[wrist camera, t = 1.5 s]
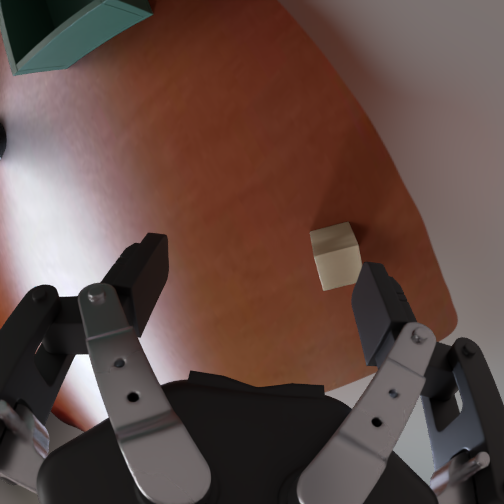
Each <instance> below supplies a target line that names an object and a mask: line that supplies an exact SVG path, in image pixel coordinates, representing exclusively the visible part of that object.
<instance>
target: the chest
mask: <svg viewBox="0 0 504 504" xmlns="http://www.w3.org/2000/svg"><path fill="white" fill-rule="evenodd" d="M151 15H153V12H152V9H151V7H150V4H149V2H148V0H0V29H1V33H2V38H3V42H4V46H5V50H6V53H7V57H8V61H9V64H10V67H11V71H12V74H13V76H16V75H22V74H29V73H35V72H43V71H51V70H61V69H67V68H68V67H70V66H71V65H72V64H74V63H75V62H77V61H78V60H79V59H81V58H82V57H84V56H85V55H86V54H88V53H89V52H91V51H92V50H94V49H95V48H97V47H98V46H100V45H101V44H103V43H104V42H106V41H108V40H109V39H111V38H112V37H114V36H116V35H117V34H119V33H121V32H122V31H124V30H126V29H127V28H129V27H131V26H133V25H135V24H136V23H138V22H140V21H142V20H144V19H146V18H148V17H149V16H151Z"/></svg>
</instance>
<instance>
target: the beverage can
mask: <svg viewBox="0 0 504 504" xmlns="http://www.w3.org/2000/svg"><path fill="white" fill-rule="evenodd" d="M5 147H6V134H5V131H4V128H3V126H2V125H1V124H0V159H1V158H2V156H3V153H4V151H5Z"/></svg>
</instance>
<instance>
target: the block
mask: <svg viewBox="0 0 504 504" xmlns="http://www.w3.org/2000/svg"><path fill="white" fill-rule="evenodd" d="M310 236H311V242H312V247H313V253H314V258H315V262H316V265H317V269H318V272H319V276H320V280H321V284H322V287H323V291H325V290H329V289H333V288H337V287H341V286H345V285H349V284H353V283H356V282H357V279H358V276H359V273H360V271H361V268H362V262H361V256H360V251H359V245H358V243H357V240H356V238H355V236H354V233H353V231H352V229H351V226H350V224H349V222H345V223H341V224H337V225H333V226H330V227H326V228H322V229H318V230H314V231H310Z"/></svg>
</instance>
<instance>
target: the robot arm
mask: <svg viewBox="0 0 504 504" xmlns="http://www.w3.org/2000/svg"><path fill="white" fill-rule="evenodd" d="M168 272H169V260H168V238H167V235H165V234H157V233H148V234H147V235H146V236H145V238H144V239H143V240H142V242H141V243H134V244H132V245H131V246H129V247H127V248H126V249H125V250H124V251H123V253H122V254H121V255H120V258H118V259H117V261H116V263H115V264H114V265H113V266H112V267H111V269H110V270H109V272H108V273H107V274H106V276H105V277H104V278H103V280H102V281H101V283H94V284H91V285H88V286H86V287H85V288H83V289H82V290H81V291H80V293H79V295H78V296H73V297H59V295H58V292H57V289H56V288H55V287H53V286H51V285H40V286H37V287H34V288H32V289H31V290H30V291H28V293H27V294H26V295H25V296H24V298H23V299H22V300H21V301H20V303H19V304H18V306H17V307H16V308H15V310H14V311H13V312H12V314H11V315H10V317H9V318H8V319H7V321H6V322H5V324H4V325H3V326H2V328H1V329H0V479H1V480H3V481H5V482H6V483H8V484H12V485H20V486H22V487H24V488H26V489H28V490H30V491H32V492H34V493H36V494H37V495H38V500H39V504H504V405H503V402H502V399H501V397H500V394H499V392H498V389H497V386H496V384H495V381H494V379H493V376H492V374H491V372H490V369H489V367H488V364H487V362H486V360H485V358H484V355H483V353H482V351H481V349H480V348H479V346H478V345H477V344H476V343H475V342H473V341H472V340H470V339H468V338H463V337H462V338H458V339H457V340H456V341H455V343H454V344H453V345H452V346H449V345H445V344H442V343H439V342H436V338H435V335H434V334H433V332H432V331H431V330H430V329H429V328H428V327H426V326H425V325H423V324H420V323H417V321H416V318H415V316H414V314H413V312H412V309H411V307H410V305H409V303H408V302H407V299H406V297H405V295H404V292H403V290H402V288H401V286H400V285H399V284H398V282H397V281H396V280H395V279H394V278H393V277H389V276H388V274H387V272H386V270H385V267H384V265H383V264H380V263H373V262H364V263H363V265H362V268H361V271H360V273H359V276H358V279H357V282H356V285H355V287H354V290H353V293H352V308H353V312H354V316H355V320H356V324H357V328H358V332H359V336H360V340H361V344H362V348H363V352H364V357H365V361H366V365H367V366H377V367H378V371H377V373H376V374H375V376H374V377H373V379H372V380H371V382H370V383H369V385H368V387H367V388H366V390H365V391H364V393H363V394H362V396H361V397H360V398H359V400H358V401H357V403H356V404H355V406H354V407H353V409H351V408H350V407H349V406H347V405H346V404H344V403H343V402H341V401H339V400H337V399H335V398H332V397H330V396H326V395H325V393H324V385H309V384H294V383H291V384H283V385H275V386H267V387H254V386H251V385H248V384H245V383H242V382H240V381H237V380H234V379H231V378H228V377H226V376H222V375H215V374H209V373H203V372H197V371H191V370H190V374H189V378H188V380H179V381H173V382H169V383H166V384H163V385H160V384H159V382H158V380H157V378H156V376H155V374H154V372H153V370H152V368H151V366H150V364H149V361H148V359H147V357H146V355H145V353H144V351H143V349H142V346H141V344H140V342H139V340H138V337H139V338H141V335H142V333H143V331H144V329H145V326H146V324H147V322H148V320H149V318H150V315H151V313H152V311H153V309H154V307H155V305H156V302H157V300H158V298H159V296H160V294H161V292H162V290H163V288H164V286H165V283H166V281H167V278H168ZM41 342H42V343H41ZM40 343H41V345H40ZM39 345H40V347H39V349H38V350H37V348H38V346H39ZM36 350H37V352H36ZM35 352H36V354H35ZM76 354H89V357H90V360H91V364H92V367H93V371H94V374H95V377H96V381H97V384H98V387H99V390H100V393H101V396H102V399H103V402H104V405H105V408H106V410H107V413H108V416H109V418H107V419H105V420H104V421H102V422H101V423H99V424H97V425H96V426H94V427H92V428H91V429H89V430H88V431H86V432H84V433H83V434H81V435H79V436H78V437H76V438H74V439H73V440H71V441H69V442H67V443H66V444H64V445H62V446H60V447H59V448H57V449H55V450H54V451H52V452H51V453H50V454H49V455H48V450H49V449H48V446H49V435H48V432H47V430H46V429H45V427H44V426H45V424H46V421H47V418H48V416H49V414H50V411H51V409H52V406H53V404H54V401H55V399H56V397H57V394H58V392H59V390H60V387H61V385H62V383H63V381H64V379H65V376H66V374H67V372H68V370H69V368H70V365H71V363H72V361H73V359H74V357H75V355H76ZM458 390H459V392H460V395H461V399H462V402H463V407H462V411H461V413H460V412H459V409H458V405H457V401H456V398H455V395H454V394H455V393H456V392H457V391H458ZM419 395H420V396H421V400H422V404H423V409H424V413H425V418H426V423H427V428H428V433H429V438H430V443H431V449H432V455H433V461H434V468H435V472H434V473H433V475H432V477H431V481H430V486H428V485H427V484H426V483H425V482H424V481H423V480H422V479H421V478H420V477H419V476H418V475H417V474H416V473H415V472H414V471H413V470H412V469H411V468H410V467H409V466H408V465H407V464H406V463H405V462H404V461H403V460H402V459H401V458H400V457H399V456H398V455H397V454H396V453H395V452H394V451H393V448H394V446H395V444H396V443H397V441H398V439H399V437H400V435H401V433H402V431H403V429H404V427H405V425H406V423H407V421H408V419H409V417H410V415H411V413H412V411H413V409H414V407H415V404H416V402H417V400H418V398H419Z"/></svg>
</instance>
